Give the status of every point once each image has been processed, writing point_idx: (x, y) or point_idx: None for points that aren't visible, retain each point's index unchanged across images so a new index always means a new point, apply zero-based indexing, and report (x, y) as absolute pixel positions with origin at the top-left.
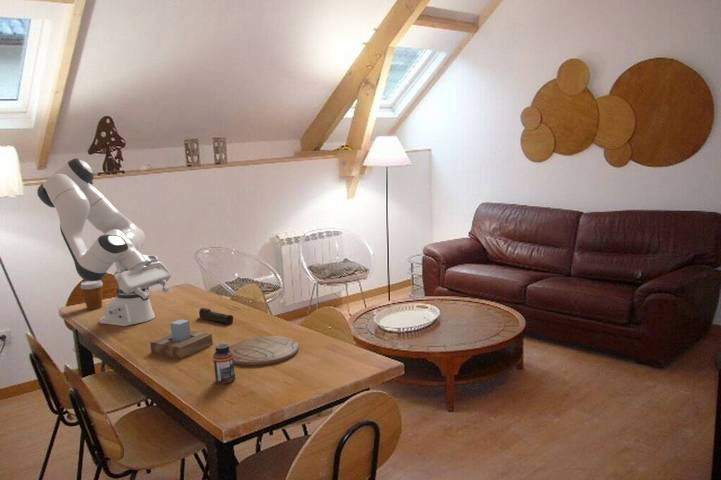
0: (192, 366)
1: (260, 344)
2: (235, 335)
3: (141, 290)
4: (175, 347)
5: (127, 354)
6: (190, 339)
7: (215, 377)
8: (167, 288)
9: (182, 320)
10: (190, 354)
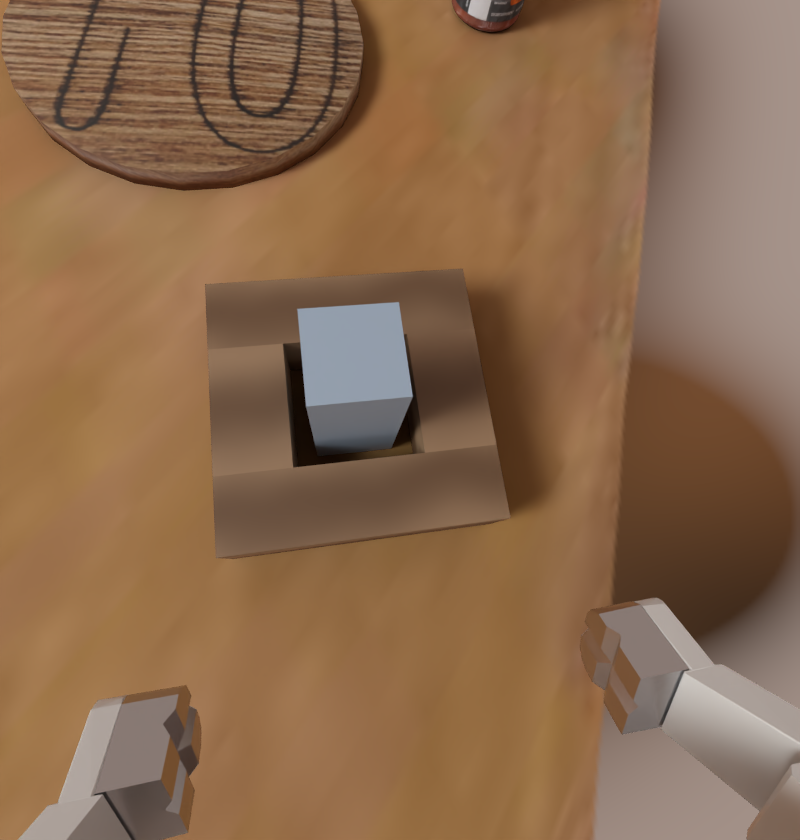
0: (474, 194)
1: (152, 61)
2: (38, 313)
3: (768, 720)
4: (468, 305)
5: None
6: None
7: (522, 4)
8: (130, 704)
9: (319, 360)
10: None
